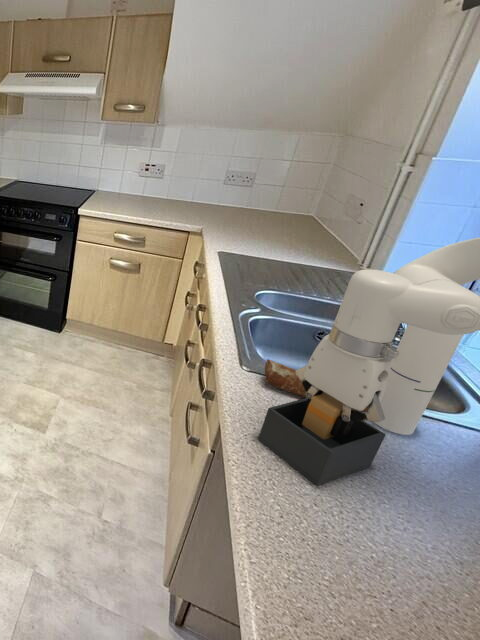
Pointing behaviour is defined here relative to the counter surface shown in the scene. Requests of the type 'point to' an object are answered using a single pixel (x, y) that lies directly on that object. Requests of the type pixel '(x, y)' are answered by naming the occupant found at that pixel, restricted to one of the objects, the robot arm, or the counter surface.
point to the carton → (322, 415)
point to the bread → (285, 379)
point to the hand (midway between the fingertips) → (323, 424)
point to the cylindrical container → (415, 377)
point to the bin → (318, 444)
